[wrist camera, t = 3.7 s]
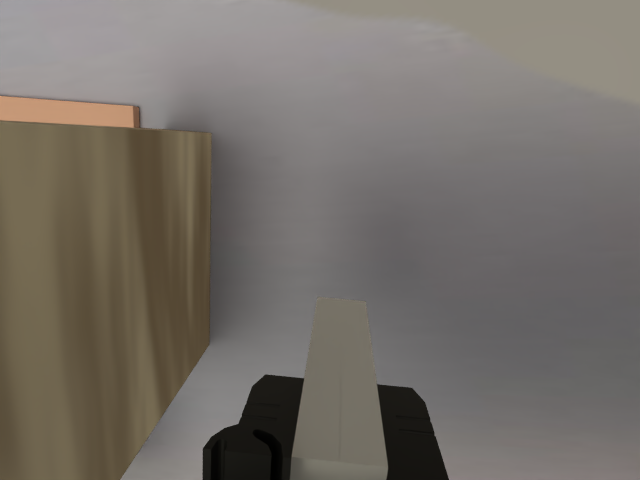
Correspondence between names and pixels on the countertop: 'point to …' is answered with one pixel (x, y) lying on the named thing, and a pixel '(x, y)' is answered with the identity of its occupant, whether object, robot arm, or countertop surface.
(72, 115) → the mat
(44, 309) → the tile
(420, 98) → the countertop surface
